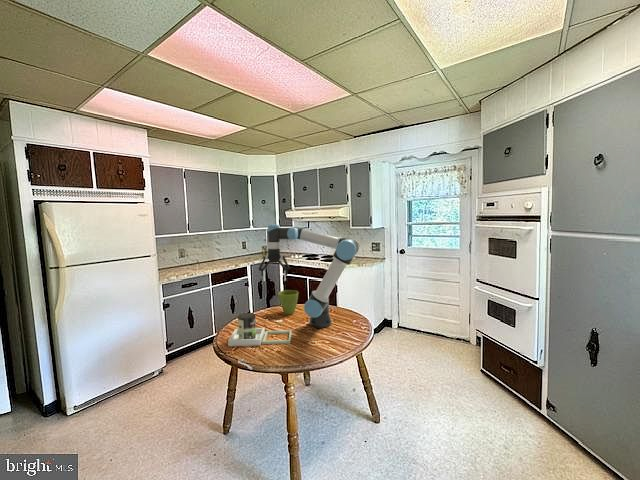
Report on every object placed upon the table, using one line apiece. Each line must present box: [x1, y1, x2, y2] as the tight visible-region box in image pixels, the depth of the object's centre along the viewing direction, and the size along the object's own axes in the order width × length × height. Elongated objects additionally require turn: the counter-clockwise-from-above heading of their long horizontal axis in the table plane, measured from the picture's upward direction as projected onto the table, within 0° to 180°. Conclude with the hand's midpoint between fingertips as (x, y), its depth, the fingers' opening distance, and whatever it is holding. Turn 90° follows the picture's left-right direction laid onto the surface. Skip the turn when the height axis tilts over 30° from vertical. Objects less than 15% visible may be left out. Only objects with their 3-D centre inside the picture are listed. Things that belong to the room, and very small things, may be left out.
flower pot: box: [278, 289, 299, 315], centre depth 227 cm, size 15×15×16 cm
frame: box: [261, 330, 293, 345], centre depth 181 cm, size 16×16×2 cm
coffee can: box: [237, 312, 257, 340], centre depth 179 cm, size 10×10×14 cm
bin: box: [227, 327, 266, 347], centre depth 179 cm, size 18×18×4 cm
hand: (274, 280), depth 195 cm, fingers open, 13 cm apart
